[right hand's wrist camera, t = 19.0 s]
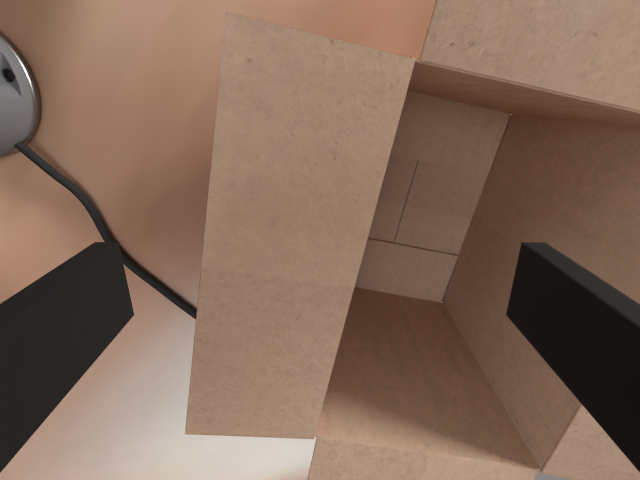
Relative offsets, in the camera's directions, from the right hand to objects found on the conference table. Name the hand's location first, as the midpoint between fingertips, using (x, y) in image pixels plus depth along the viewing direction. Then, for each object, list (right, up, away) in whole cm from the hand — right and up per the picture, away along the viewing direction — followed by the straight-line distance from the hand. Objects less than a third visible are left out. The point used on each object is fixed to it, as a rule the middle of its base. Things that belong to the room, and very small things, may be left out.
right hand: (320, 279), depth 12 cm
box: (+11, +6, +35) cm, 37 cm away
